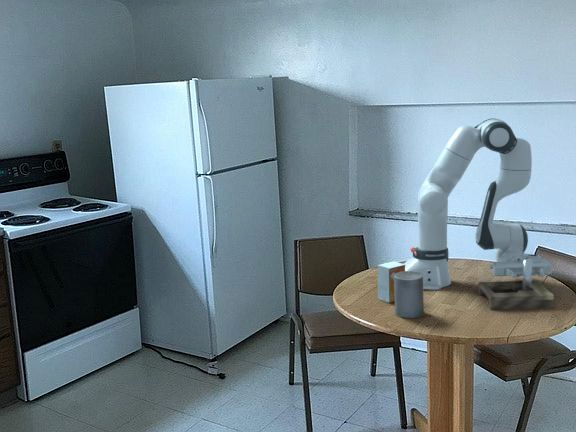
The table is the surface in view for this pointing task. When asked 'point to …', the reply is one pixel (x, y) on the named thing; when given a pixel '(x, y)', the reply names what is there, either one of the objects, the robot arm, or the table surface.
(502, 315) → the table surface
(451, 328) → the table surface
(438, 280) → the robot arm
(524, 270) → the footed peg
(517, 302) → the keyhole plate
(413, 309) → the pillar candle
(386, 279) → the small box
